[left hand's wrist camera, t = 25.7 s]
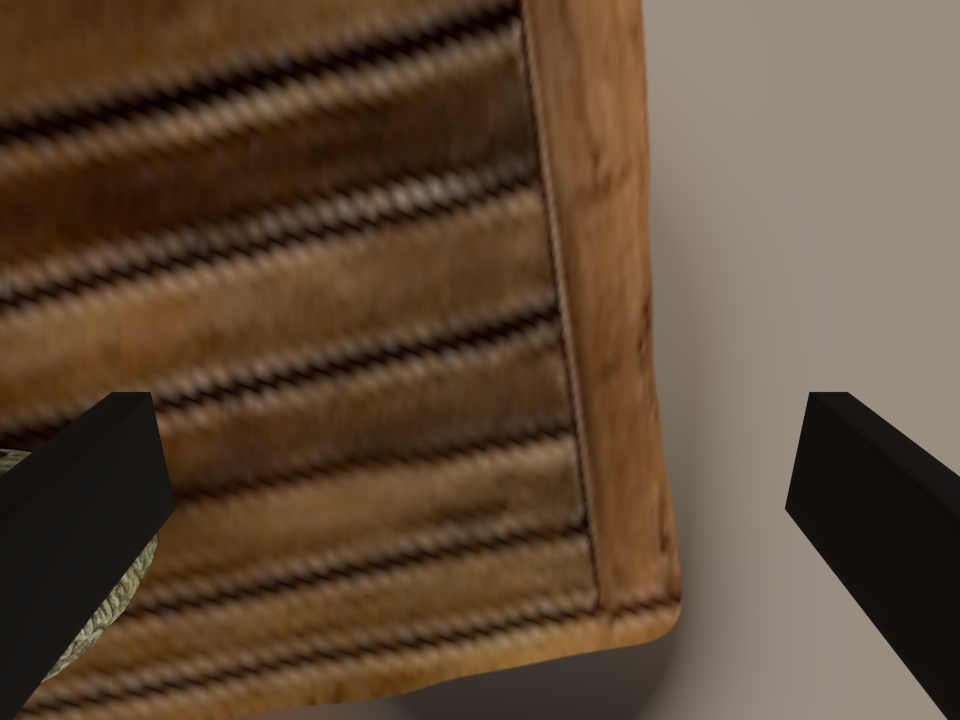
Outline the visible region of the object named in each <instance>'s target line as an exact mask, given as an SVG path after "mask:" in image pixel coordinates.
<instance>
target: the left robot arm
mask: <svg viewBox="0 0 960 720" xmlns="http://www.w3.org/2000/svg"><path fill="white" fill-rule="evenodd" d="M174 510H175V506H174V501H173V496H172V492H171V487H170V482H169V477H168V473H167V468H166V463H165V458H164V454H163V449H162V444H161V439H160V435H159V430H158V425H157V420H156V416H155V411H154V406H153V401H152V397H151V392H112V393H110V394H109V395H108V396H106V397H105V398H104V399H102V400H101V401H100V402H98V403H97V404H96V405H94V406H93V407H92V408H90V409H89V410H88V411H86V412H85V413H84V414H82V415H81V416H80V417H78V418H77V419H76V420H75V421H73V422H72V423H71V424H69V425H68V426H67V427H65V428H64V429H63V430H61V431H60V432H59V433H57V434H56V435H55V436H53V437H52V438H51V439H49V440H48V441H47V442H45V443H44V444H43V445H41V446H40V447H39V448H37V449H36V450H35V451H34V452H32V453H31V454H30V455H28V456H27V457H26V458H24V459H23V460H22V461H20V462H19V463H18V464H16V465H15V466H14V467H12V468H11V469H10V470H8V471H7V472H6V473H4V474H3V475H2V476H0V720H13V718H14V717H15V716H16V714H17V713H18V712H19V711H20V709H21V708H22V707H23V705H24V704H25V703H26V701H27V700H28V699H29V698H30V696H31V695H32V694H33V692H34V691H35V690H36V689H37V687H38V686H39V685H40V683H41V682H42V681H43V679H44V678H45V677H46V676H47V674H48V673H49V672H50V670H51V669H52V668H53V666H54V665H55V664H56V663H57V661H58V660H59V659H60V657H61V656H62V655H63V654H64V652H65V651H66V650H67V648H68V647H69V646H70V644H71V643H72V642H73V641H74V639H75V638H76V637H77V635H78V634H79V633H80V632H81V630H82V629H83V628H84V626H85V625H86V624H87V622H88V621H89V620H90V619H91V617H92V616H93V615H94V613H95V612H96V611H97V610H98V608H99V607H100V606H101V604H102V603H103V602H104V600H105V599H106V598H107V597H108V595H109V594H110V593H111V591H112V590H113V589H114V587H115V586H116V585H117V584H118V582H119V581H120V580H121V578H122V577H123V576H124V575H125V573H126V572H127V571H128V569H129V568H130V567H131V565H132V564H133V563H134V562H135V560H136V559H137V558H138V556H139V555H140V554H141V553H142V551H143V550H144V549H145V547H146V546H147V545H148V543H149V542H150V541H151V540H152V538H153V537H154V536H155V534H156V533H157V532H158V530H159V529H160V528H161V527H162V525H163V524H164V523H165V521H166V520H167V519H168V518H169V516H170V515H171V514H172V512H173V511H174ZM785 510H786V511H787V512H788V514H789V515H790V516H791V518H792V519H793V520H794V521H795V523H796V524H797V525H798V527H799V528H800V529H801V530H802V532H803V533H804V534H805V536H806V537H807V538H808V540H809V541H810V542H811V543H812V545H813V546H814V547H815V549H816V550H817V551H818V552H819V554H820V555H821V556H822V558H823V559H824V560H825V562H826V563H827V564H828V565H829V567H830V568H831V569H832V571H833V572H834V573H835V574H836V576H837V577H838V578H839V580H840V581H841V582H842V584H843V585H844V586H845V587H846V589H847V590H848V591H849V593H850V594H851V595H852V597H853V598H854V599H855V600H856V602H857V603H858V604H859V606H860V607H861V608H862V609H863V611H864V612H865V613H866V615H867V616H868V617H869V618H870V620H871V621H872V622H873V624H874V625H875V626H876V628H877V629H878V630H879V632H880V633H881V634H882V635H883V637H884V638H885V639H886V641H887V642H888V643H889V644H890V646H891V647H892V648H893V650H894V651H895V652H896V654H897V655H898V656H899V657H900V659H901V660H902V661H903V663H904V664H905V665H906V666H907V668H908V669H909V670H910V672H911V673H912V674H913V676H914V677H915V678H916V679H917V681H918V682H919V683H920V685H921V686H922V687H923V689H924V690H925V691H926V692H927V694H928V695H929V696H930V698H931V699H932V700H933V701H934V703H935V704H936V705H937V707H938V708H939V709H940V710H941V712H942V713H943V714H944V716H945V717H946V718H947V720H960V476H958V475H957V474H956V473H954V472H953V471H952V470H950V469H949V468H948V467H946V466H945V465H944V464H942V463H941V462H940V461H938V460H937V459H936V458H934V457H933V456H932V455H930V454H929V453H928V452H926V451H925V450H924V449H922V448H921V447H920V446H919V445H917V444H916V443H914V442H913V441H912V440H911V439H909V438H908V437H907V436H905V435H904V434H903V433H901V432H900V431H899V430H897V429H896V428H895V427H893V426H892V425H891V424H889V423H888V422H887V421H885V420H884V419H883V418H882V417H880V416H879V415H878V414H876V413H875V412H874V411H872V410H871V409H870V408H868V407H867V406H866V405H864V404H863V403H862V402H860V401H859V400H858V399H856V398H855V397H854V396H852V395H851V394H850V393H848V392H809V397H808V401H807V406H806V411H805V416H804V420H803V425H802V430H801V435H800V439H799V444H798V449H797V454H796V458H795V463H794V468H793V473H792V477H791V482H790V487H789V492H788V496H787V501H786V506H785Z"/></svg>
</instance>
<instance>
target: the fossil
mask: <svg viewBox="0 0 960 720" xmlns="http://www.w3.org/2000/svg"><path fill="white" fill-rule="evenodd" d="M31 453H32V452H26V451H19V450H9V449H0V476H2V475H3V474H4V473H6V472H7V471H8V470H10V469H11V468H12V467H14V466H15V465H16V464H18V463H19V462H20V461H22V460H23V459H24V458H26V457H27V456H28V455H30V454H31ZM158 544H159V534H158V532H157V533H156V534H155V536H154V537H153V538H152V540H151V541H150V542H149V543H148V545H147V546H146V547H145V549H144V550H143V551H142V553H141V554H140V555H139V556H138V558H137V559H136V560H135V562H134V563H133V564H132V565H131V567H130V568H129V569H128V571H127V572H126V573H125V575H124V576H123V577H122V578H121V580H120V581H119V582H118V584H117V585H116V586H115V587H114V589H113V590H112V591H111V593H110V594H109V595H108V597H107V598H106V599H105V600H104V602H103V603H102V604H101V606H100V607H99V608H98V610H97V611H96V612H95V613H94V615H93V616H92V617H91V619H90V620H89V621H88V622H87V624H86V625H85V626H84V628H83V629H82V630H81V632H80V633H79V634H78V635H77V637H76V638H75V639H74V641H73V642H72V643H71V644H70V646H69V647H68V648H67V650H66V651H65V652H64V654H63V655H62V656H61V657H60V659H59V660H58V661H57V663H56V664H55V665H54V666H53V668H52V669H51V670H50V672H49V673H48V674H47V676H46V677H45V678H44V679H43V681H45V680H46V679H48V678H50V677H52V676H54V675H56V674H58V673H59V672H60V671H62V670H63V669H64V668H65V667H67V666H68V665H69V664H71V663H72V662H74V661H75V660H76V659H78V658H79V657H81V656H82V655H83V654H84V653H85V652H86V651H87V650H88V649H89V648H90V647H91V646H93V645H94V644H95V643H96V641H97V640H98V639H99V638H100V636H101V634H102V632H103V631H104V629H105V628H106V627H107V626H109V625H110V624H111V623H112V622H113V621H114V620H115V619H116V618H117V617H118V616H119V615H120V614H121V613H122V612H123V611H124V610H125V607H126V606H127V604H128V603H129V602H130V599H131V598H132V596H133V595H134V593H135V592H136V590H137V588H138V586H139V585H140V583H141V581H142V579H143V578H144V576H145V575H146V573H147V571H148V569H149V567H150V565H151V561H152V559H153V558H154V557H155V554H156V550H157V547H158ZM43 681H42V682H43Z"/></svg>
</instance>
